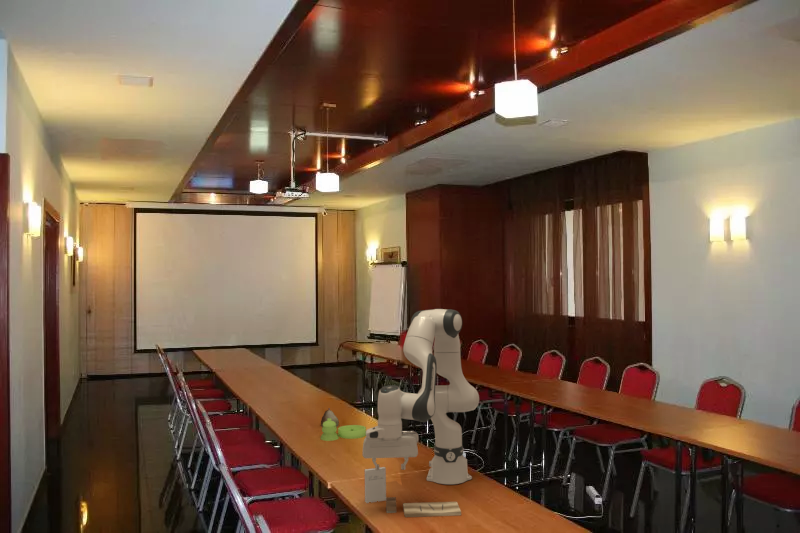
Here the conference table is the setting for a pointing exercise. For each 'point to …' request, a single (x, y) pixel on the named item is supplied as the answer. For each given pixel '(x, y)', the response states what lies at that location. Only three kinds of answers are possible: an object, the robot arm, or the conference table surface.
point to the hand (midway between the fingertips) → (390, 469)
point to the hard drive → (375, 485)
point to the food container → (341, 431)
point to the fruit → (329, 415)
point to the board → (431, 509)
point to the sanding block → (391, 504)
